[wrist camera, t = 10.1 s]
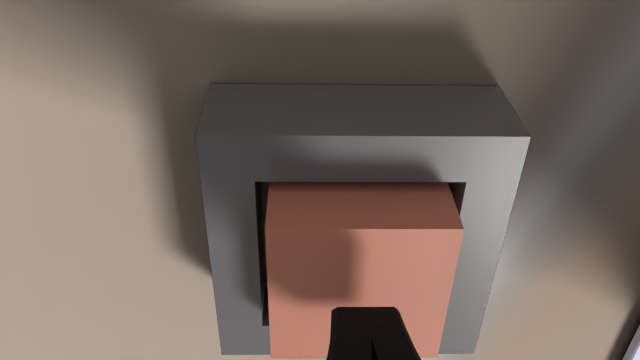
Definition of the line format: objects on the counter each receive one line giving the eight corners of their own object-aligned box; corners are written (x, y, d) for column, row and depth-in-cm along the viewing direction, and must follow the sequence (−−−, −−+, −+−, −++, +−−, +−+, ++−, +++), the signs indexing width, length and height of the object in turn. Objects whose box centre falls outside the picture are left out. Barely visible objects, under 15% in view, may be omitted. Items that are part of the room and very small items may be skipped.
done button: (447, 180, 14) (464, 229, 12) (425, 303, 16) (437, 357, 15) (269, 179, 14) (265, 228, 12) (274, 304, 16) (270, 358, 14)
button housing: (498, 85, 15) (530, 136, 12) (455, 289, 19) (473, 353, 17) (210, 83, 14) (194, 135, 12) (230, 290, 18) (221, 354, 16)
